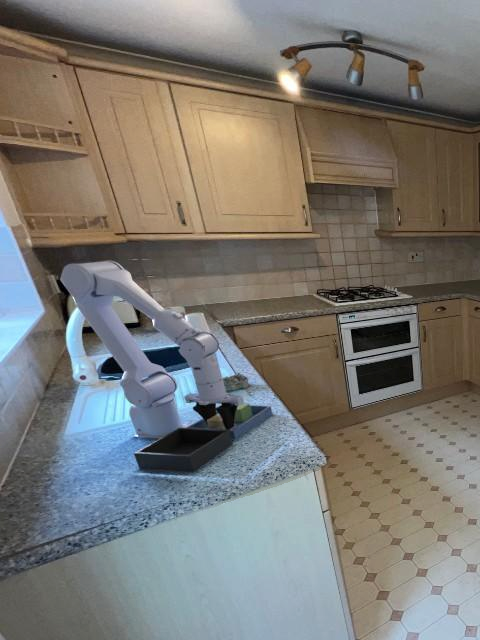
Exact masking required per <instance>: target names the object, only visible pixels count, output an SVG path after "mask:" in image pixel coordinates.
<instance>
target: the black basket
mask: <svg viewBox="0 0 480 640" xmlns="http://www.w3.org/2000/svg"><path fill="white" fill-rule="evenodd" d="M233 445H234V443H233V439H231V436H230V432H229V430H213V429H195V428H178V429H176V430H174V431H172V432H171V433H169V434H167V435H165V436H163V437H162V438H157V440H155V441H153V442H151V443H149V444H147V445H146V446H144V447H142V448H140V449H138V450H136V451H134V452H133V455H134V457H135V462H136V463H137V466H138V468H139V469H141V470H158V471H171V472H173V471H174V472H191V473H195V472H196V471H198V470H199V469H201V468H202V467H204V466H205V465H206V464H207V463H209V462H210V461H212V460H213V459H215V458H216V457H217V456H219V455H221V454H222V453H223V452H224V451H226V450H228V449H229V448H230V447H232V446H233Z"/></svg>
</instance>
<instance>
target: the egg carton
mask: <svg viewBox="0 0 480 640" xmlns="http://www.w3.org/2000/svg"><path fill="white" fill-rule="evenodd" d="M222 378H223V382H224V386H225V390H226V392H228V391H237V390H239V389H247V388H248V387H249V386H250V384H249V381H250V378H248V377H247V376H246V375H244V374H242V373H241V372H237V373H236V374H233V375H230V376H225V377H222Z"/></svg>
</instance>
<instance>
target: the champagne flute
mask: <svg viewBox="0 0 480 640" xmlns="http://www.w3.org/2000/svg"><path fill="white" fill-rule="evenodd" d="M186 320H187V321H188V322H189V323H190V324H192V325H193V326H194V327H196V328H197V329H199V330H202V331H206V332H210V333H211V330H210V328H209V327H210V326H209V324H208V322H207V319H206V317H205V314H204V313H203V312H191V313H186Z"/></svg>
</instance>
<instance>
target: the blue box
mask: <svg viewBox="0 0 480 640" xmlns="http://www.w3.org/2000/svg"><path fill="white" fill-rule="evenodd" d="M250 407H251V411H252V415H253V416H252V417H251V418H249V419H248V420H246V421H245V422H234V424H235V428H234V429H232V430H229V432H230V436H231V439H232V441H233V440H235V441H236V440H237V439H239V438H240V437H242V436H243V435H245V434H246V433H248V432H249V431H250V430H252V429H253V428H255V427H256V426H257V425H259V424H261V423H262V422H264V421H265V420H266V419H268V418H270V417H271V416H272V415H273V410H272V406H271V405H257V404H255V405H253V404H250ZM216 414H219V413H218V412H217V411H216ZM187 428H195V429H209V426H208V424H207V423H206V422H205V420H204V419H203V418H202V417H201V419H199V420H196V421H195V422H193V423H192V424H191V425H190V426H188V427H187ZM213 430H226V429H213Z"/></svg>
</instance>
